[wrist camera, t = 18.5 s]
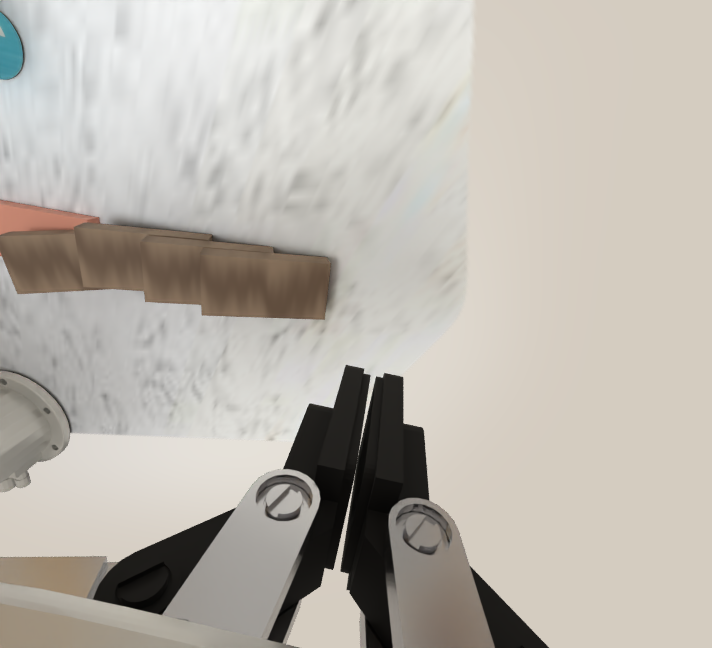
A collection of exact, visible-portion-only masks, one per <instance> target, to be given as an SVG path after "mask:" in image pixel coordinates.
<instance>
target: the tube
mask: <svg viewBox="0 0 712 648" xmlns="http://www.w3.org/2000/svg"><path fill="white" fill-rule="evenodd" d="M22 64H23V51H22V45H21V41H20V38H19V36H18V34H17V32H16V30H15V29H14V27H13V26H12V24H11V23H10V21H9V20H8V19H7V18H6V17H5V16H4V15H3V14H2V13H1V12H0V79H3V80H7V79H11V78H13V77H14V76H16V75H17V74H18V73H19V71H20V70H21V67H22Z"/></svg>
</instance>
